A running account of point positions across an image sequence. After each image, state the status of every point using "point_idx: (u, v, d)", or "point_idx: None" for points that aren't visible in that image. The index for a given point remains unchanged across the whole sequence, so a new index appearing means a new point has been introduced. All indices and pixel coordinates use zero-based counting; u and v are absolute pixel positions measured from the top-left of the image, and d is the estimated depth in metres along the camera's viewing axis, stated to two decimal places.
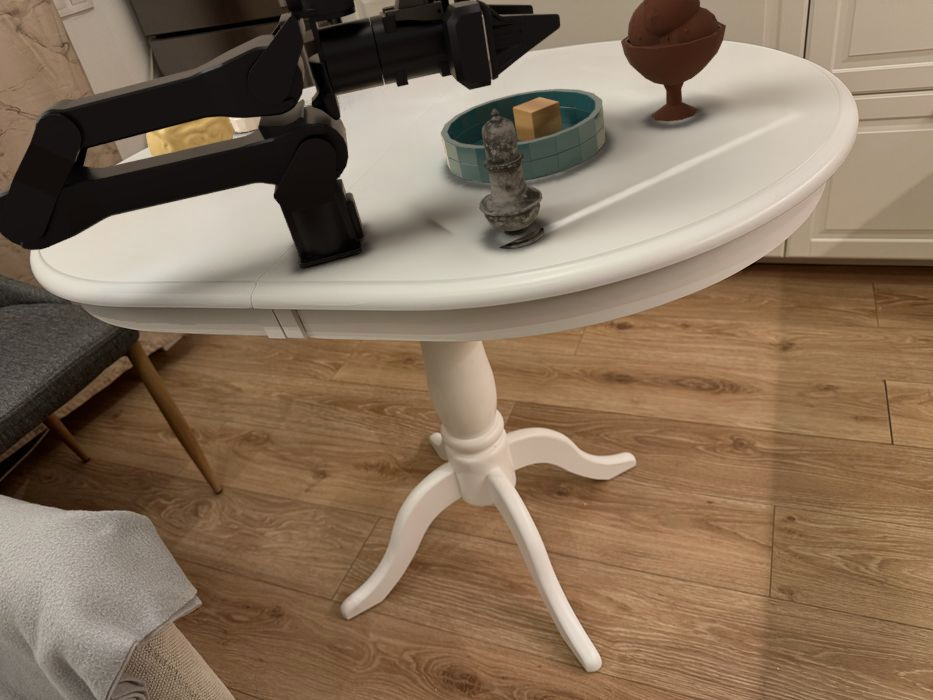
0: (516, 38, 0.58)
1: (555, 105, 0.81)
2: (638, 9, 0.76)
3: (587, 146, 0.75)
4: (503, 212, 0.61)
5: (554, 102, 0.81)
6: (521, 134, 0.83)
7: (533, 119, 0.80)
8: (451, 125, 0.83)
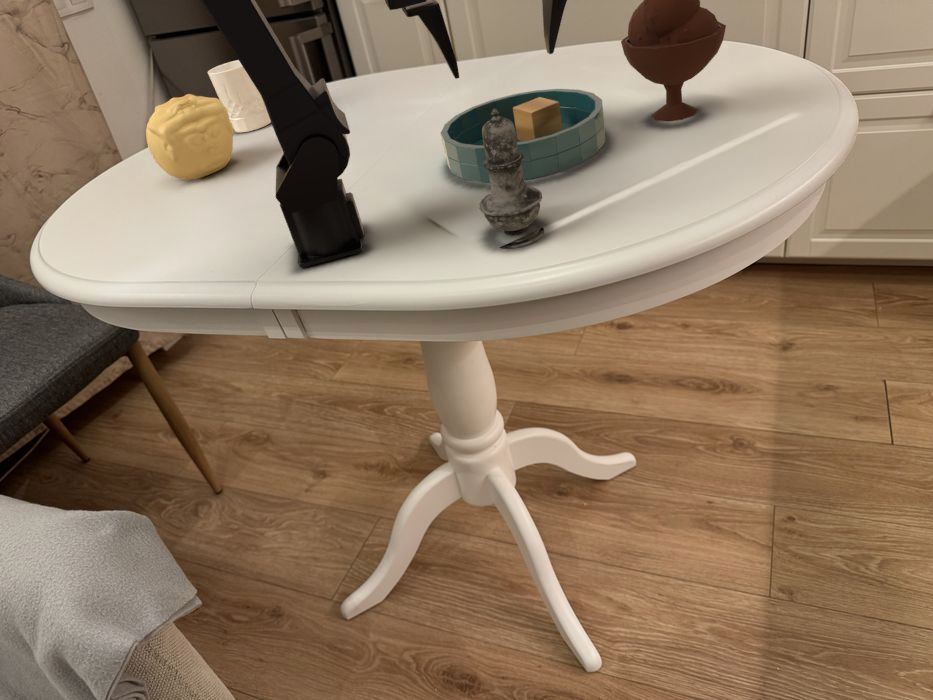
0: None
1: (555, 105, 0.81)
2: (638, 9, 0.76)
3: (587, 146, 0.75)
4: (503, 212, 0.61)
5: (554, 102, 0.81)
6: (521, 134, 0.83)
7: (533, 119, 0.80)
8: (451, 125, 0.83)
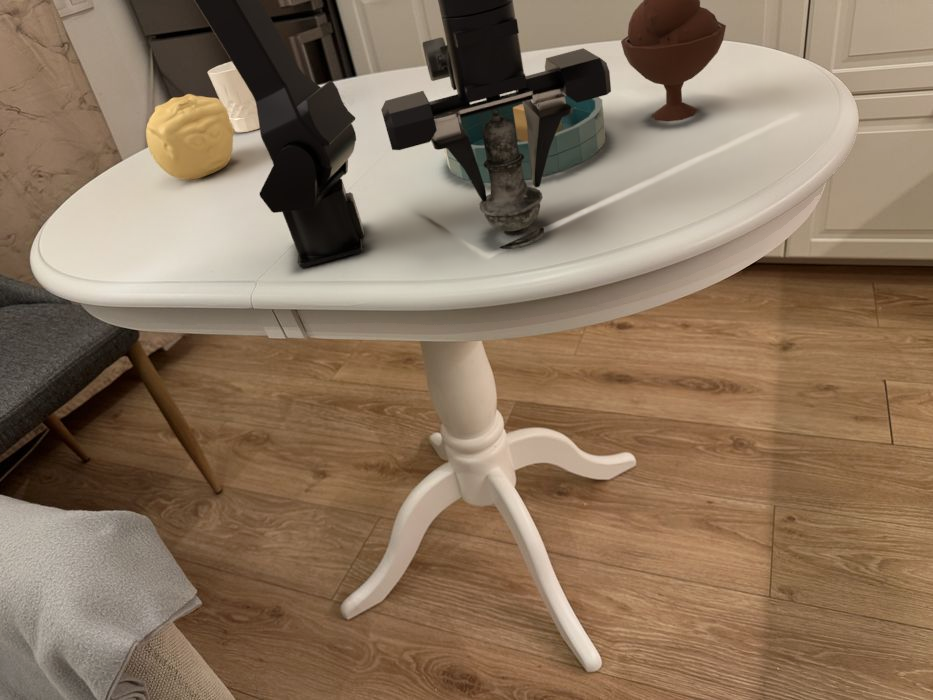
0: None
1: None
2: (638, 9, 0.76)
3: (587, 146, 0.75)
4: (503, 212, 0.61)
5: None
6: (521, 134, 0.83)
7: None
8: None
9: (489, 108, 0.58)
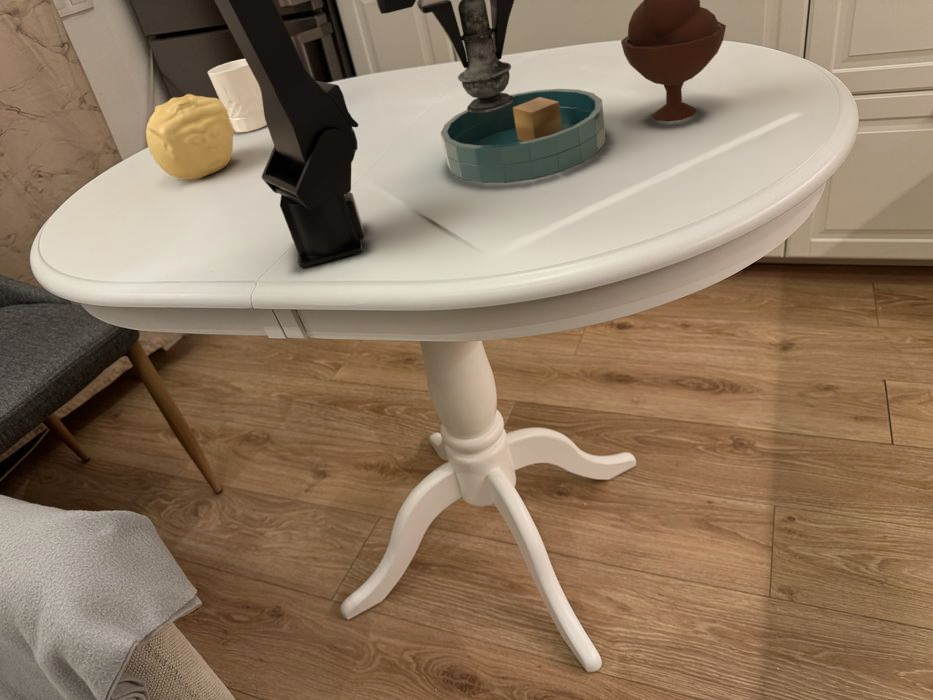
0: None
1: (555, 105, 0.81)
2: (638, 9, 0.76)
3: (587, 146, 0.75)
4: (477, 78, 0.73)
5: (554, 102, 0.81)
6: (521, 134, 0.83)
7: (533, 119, 0.80)
8: (451, 125, 0.83)
9: None
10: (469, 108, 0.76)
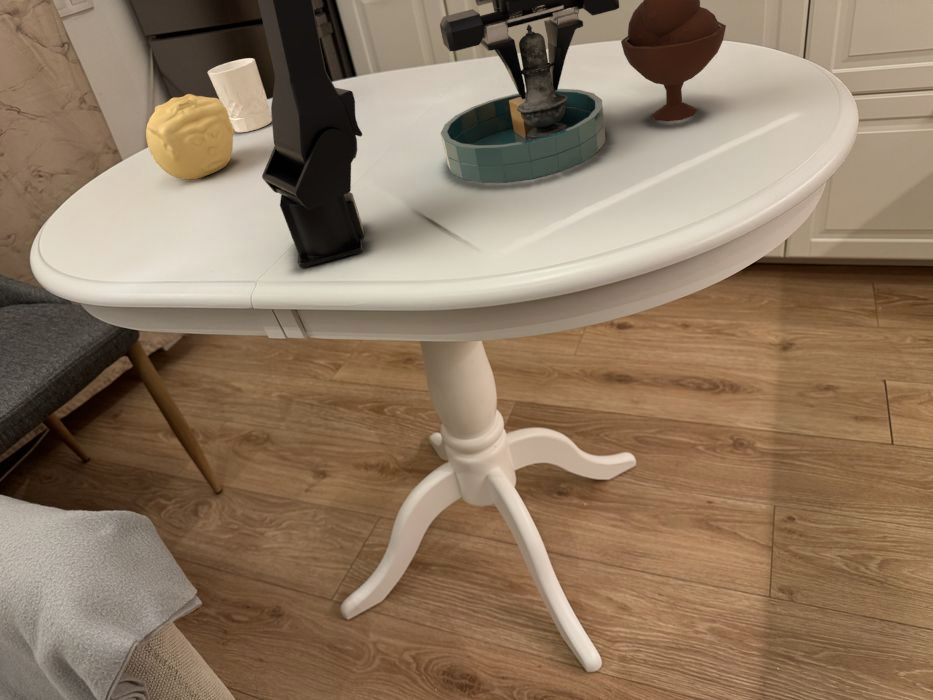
0: None
1: None
2: (638, 9, 0.76)
3: (587, 146, 0.75)
4: (539, 108, 0.77)
5: None
6: (516, 127, 0.86)
7: None
8: (451, 125, 0.83)
9: (524, 22, 0.75)
10: (528, 137, 0.81)
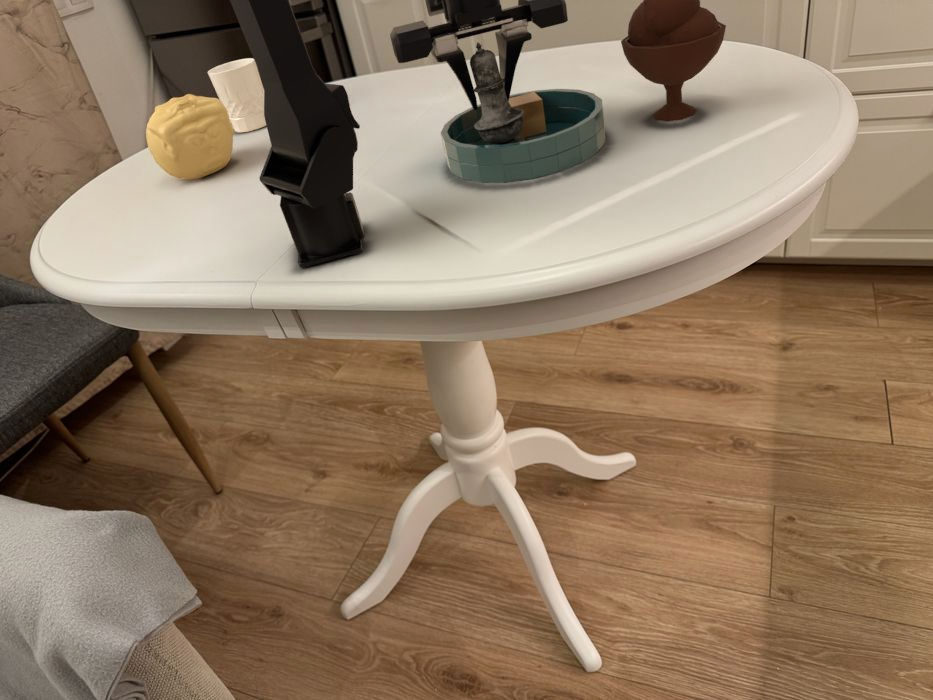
0: None
1: (538, 102, 0.83)
2: (638, 9, 0.76)
3: (587, 146, 0.75)
4: (491, 126, 0.77)
5: (538, 99, 0.83)
6: None
7: None
8: (451, 125, 0.83)
9: (474, 33, 0.75)
10: None
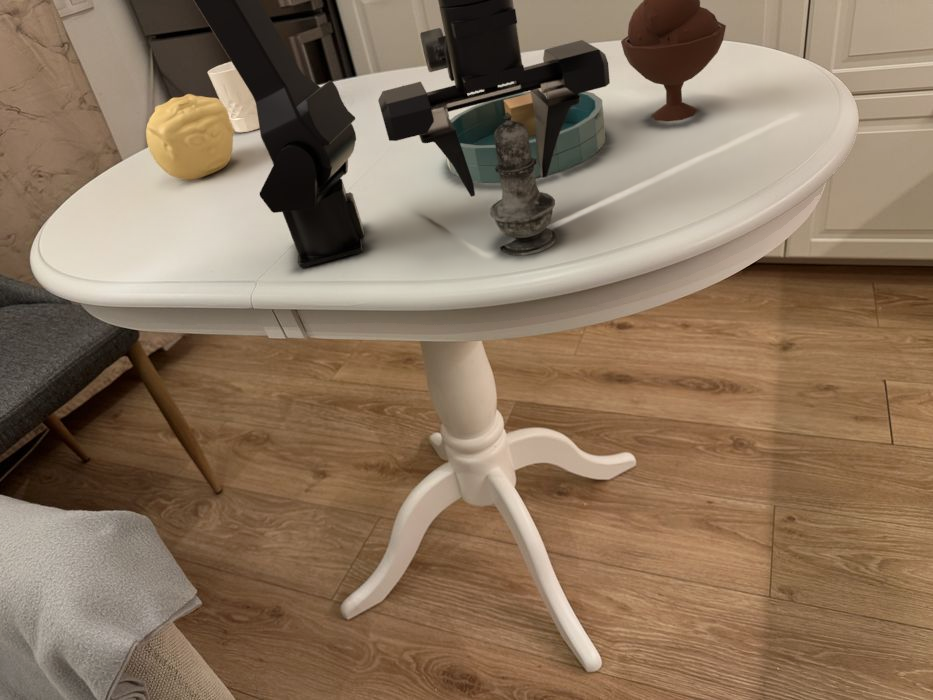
0: None
1: None
2: (638, 9, 0.76)
3: (587, 146, 0.75)
4: (513, 219, 0.60)
5: None
6: None
7: (512, 114, 0.83)
8: None
9: (487, 99, 0.58)
10: (502, 246, 0.64)
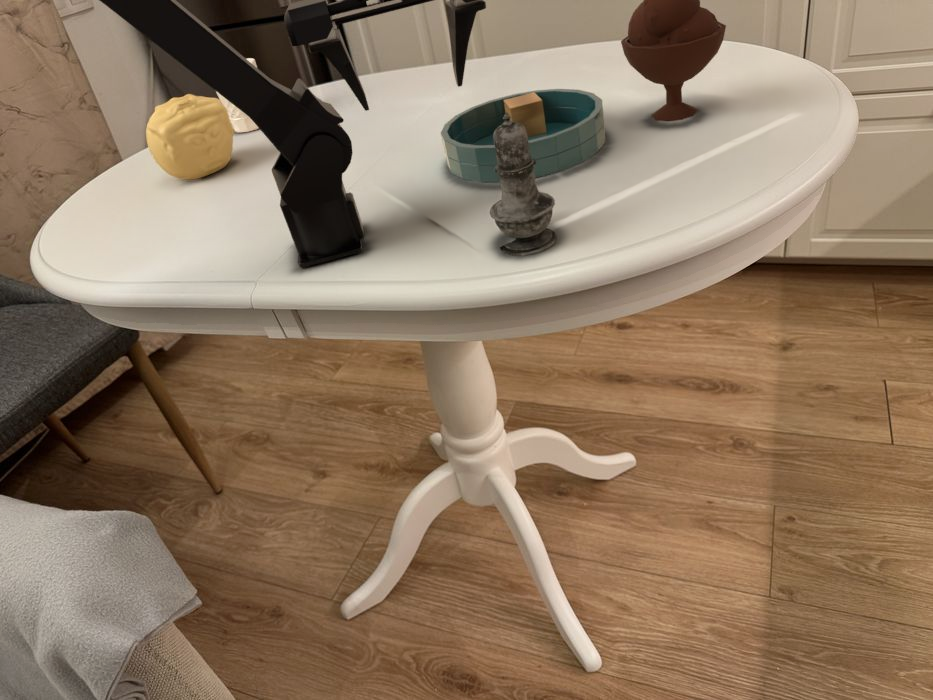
0: None
1: (537, 103, 0.83)
2: (638, 9, 0.76)
3: (587, 146, 0.75)
4: (513, 219, 0.60)
5: (538, 100, 0.83)
6: None
7: (512, 114, 0.83)
8: (451, 125, 0.83)
9: (386, 10, 0.62)
10: (502, 246, 0.64)
